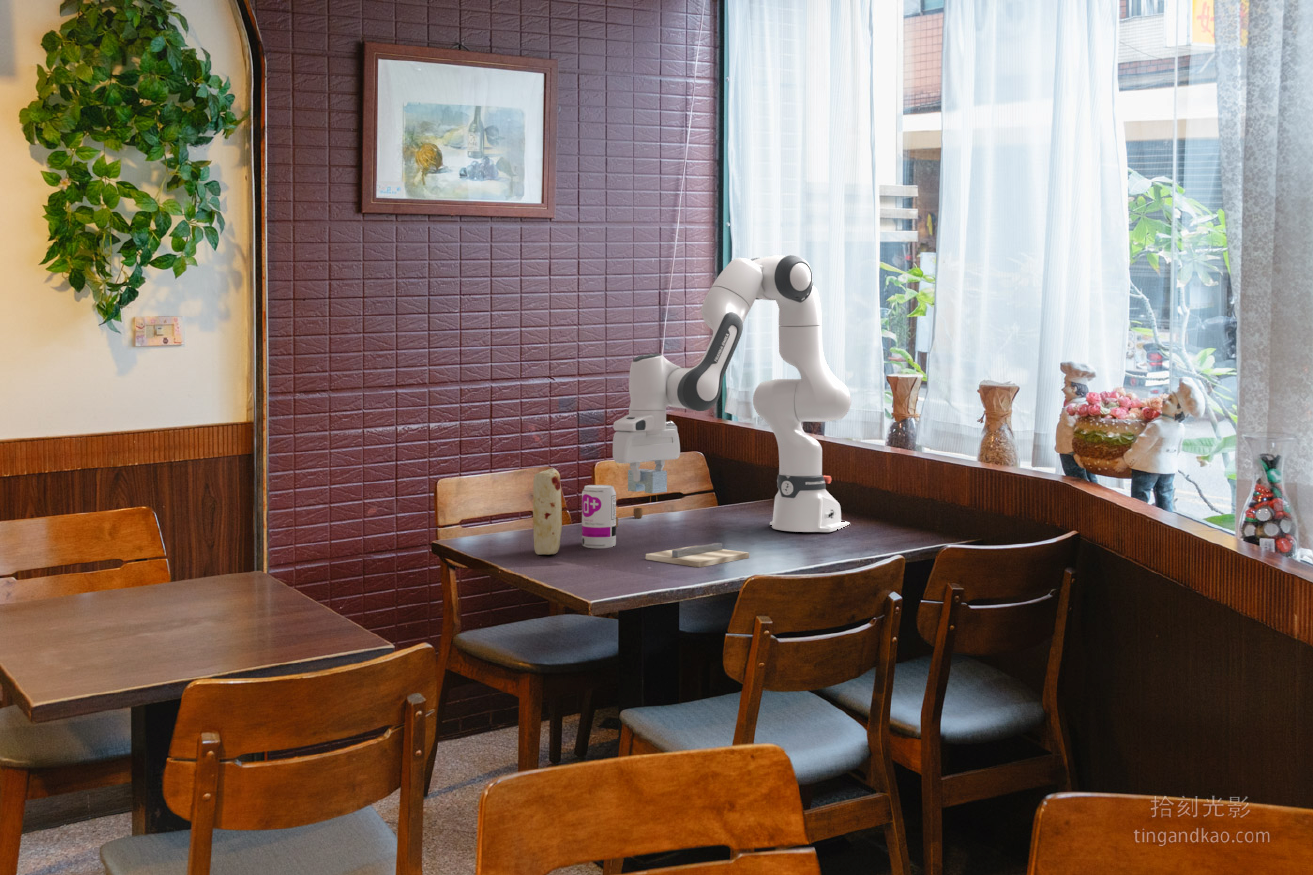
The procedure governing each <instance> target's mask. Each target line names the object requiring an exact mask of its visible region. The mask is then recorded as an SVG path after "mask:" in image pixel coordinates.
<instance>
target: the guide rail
mask: <svg viewBox="0 0 1313 875" xmlns="http://www.w3.org/2000/svg"><path fill="white" fill-rule="evenodd" d="M695 546H696V547H691V546H689V547H690V548H685V547H683V548H684V549H679V548H677V549H678V550H673V549H671V550H672V557H675V558H680V557H685V556H691V555H696V554H702V553H708V552H713V551H719V550H722V549H723V543H721V542H714V543H713V542H712V543H709V544H702V545H695Z"/></svg>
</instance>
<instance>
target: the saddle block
mask: <svg viewBox="0 0 1313 875" xmlns="http://www.w3.org/2000/svg"><path fill="white" fill-rule="evenodd" d="M639 470H640V473H641V474H643V481H639V482H636V481H634V480H633V473H632V471H631V469H628V470H627V491H628V492H635V493H636V492H643V491H644V493H645V494H658V493H659V494H660V493H667V492H668V476H667V475H668V472H667V470H664V469H663V470H655V469H653V468H652V469H650V468H639Z"/></svg>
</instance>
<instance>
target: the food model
mask: <svg viewBox="0 0 1313 875" xmlns="http://www.w3.org/2000/svg"><path fill="white" fill-rule="evenodd" d="M532 484H533V487H532V488H533V491H532V492H533V498H532V500H533V501H532V522H533V524H532V526H533V531H532V532H533V547H534V552H535V555H537V556H539V555H541V556H542V555H546V556H547V555H555V554H557V553H558V552H559V550H560V547H561V537H562V535H561V534H562V528H563V524H562V523H563V520H562V519H563V518H562V517H563V514H562V510H563V509H562V487H561V475H560V473H559V471H558V470H557V469H556V468H555V469H554V468H548V469H544V470H542V471H540V472H538V473H537V472H536V473H534V478H533V483H532Z"/></svg>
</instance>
